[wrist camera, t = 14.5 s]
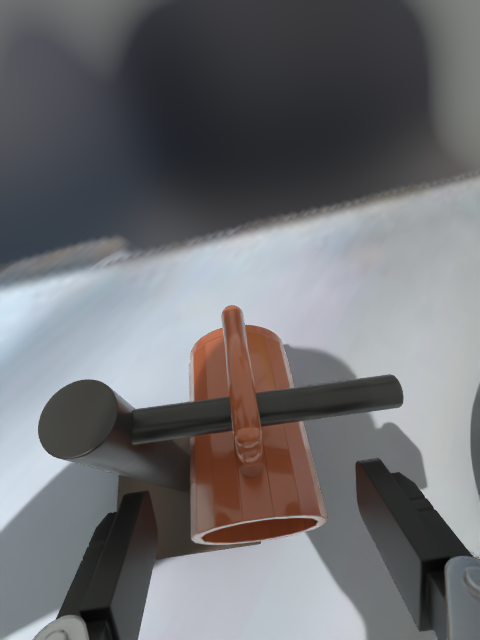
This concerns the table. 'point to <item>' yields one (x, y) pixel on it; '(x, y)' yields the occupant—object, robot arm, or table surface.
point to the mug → (248, 444)
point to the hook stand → (181, 438)
